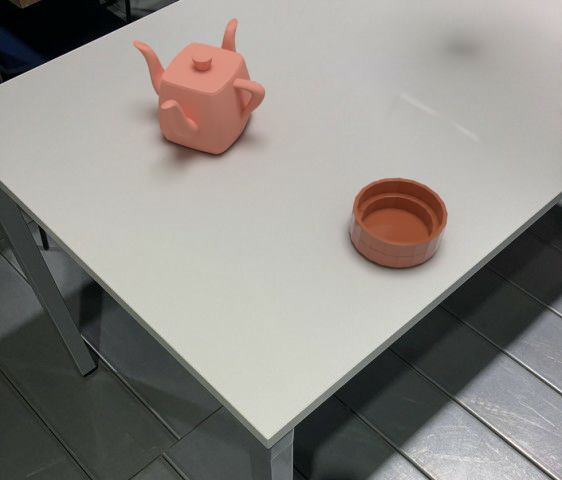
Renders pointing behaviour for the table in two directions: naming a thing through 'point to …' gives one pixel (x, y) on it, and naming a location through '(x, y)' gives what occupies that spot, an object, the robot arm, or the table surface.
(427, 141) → the table surface
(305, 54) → the table surface
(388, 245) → the bowl
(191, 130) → the pot
